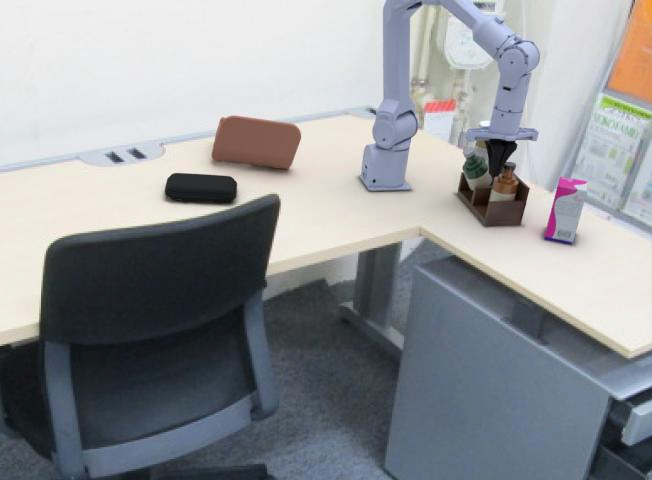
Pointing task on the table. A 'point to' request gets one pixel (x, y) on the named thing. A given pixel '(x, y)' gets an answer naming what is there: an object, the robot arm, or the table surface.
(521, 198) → the rack
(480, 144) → the sprinkles bottle
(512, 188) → the amber bottle
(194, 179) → the carrying case
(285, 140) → the brown block
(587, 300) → the table surface
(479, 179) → the dark green bottle
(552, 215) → the supplement box
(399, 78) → the robot arm
